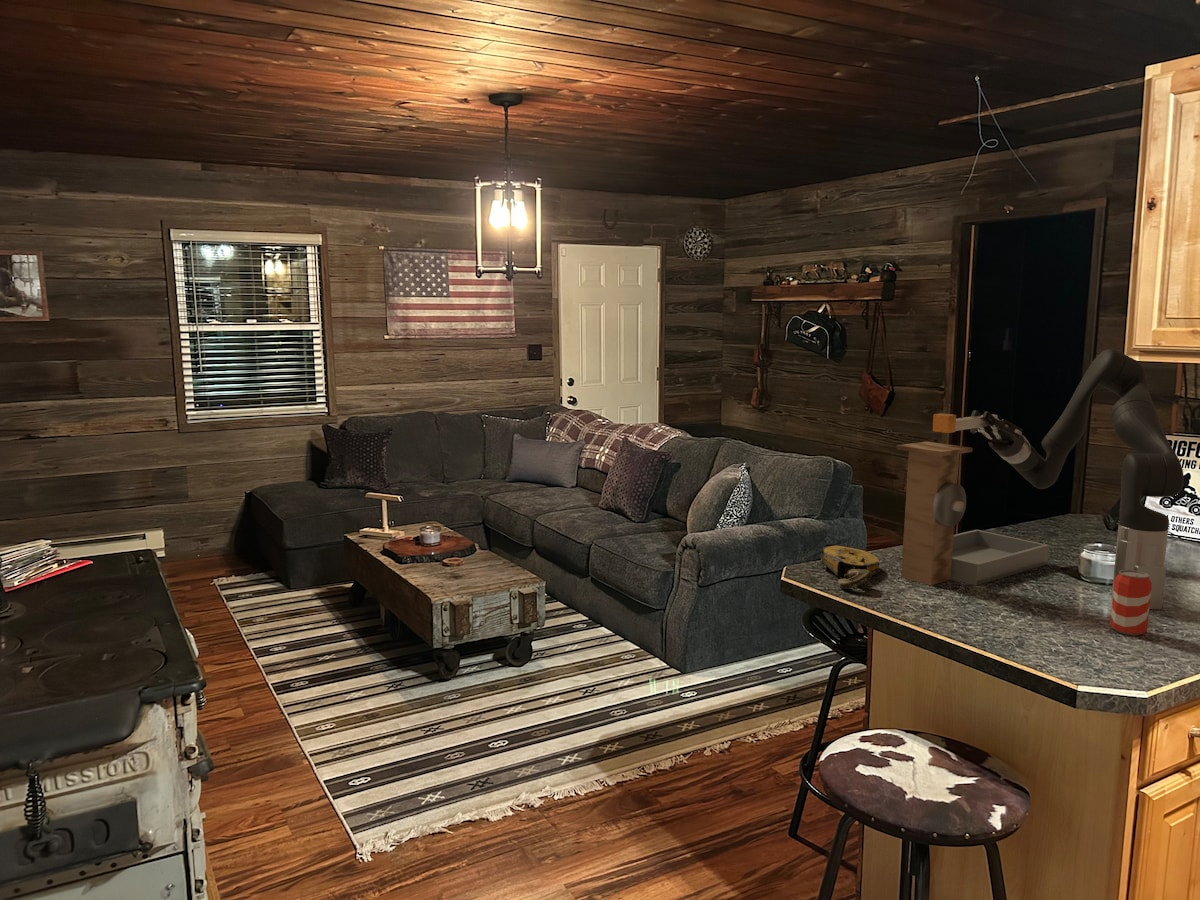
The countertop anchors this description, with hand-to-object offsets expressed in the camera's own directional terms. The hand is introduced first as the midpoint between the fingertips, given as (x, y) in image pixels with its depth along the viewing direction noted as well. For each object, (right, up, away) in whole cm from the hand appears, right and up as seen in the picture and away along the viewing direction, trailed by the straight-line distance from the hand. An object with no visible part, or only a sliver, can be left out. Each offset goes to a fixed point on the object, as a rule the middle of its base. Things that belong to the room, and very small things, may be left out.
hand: (979, 414), depth 215 cm
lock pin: (-4, -3, -2) cm, 6 cm away
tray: (+2, -38, +8) cm, 39 cm away
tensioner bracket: (-15, -40, -4) cm, 42 cm away
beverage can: (+13, -45, -39) cm, 61 cm away
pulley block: (-32, -40, -2) cm, 51 cm away
